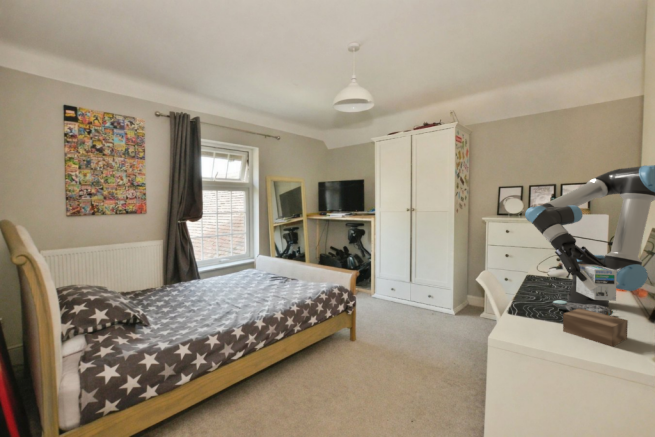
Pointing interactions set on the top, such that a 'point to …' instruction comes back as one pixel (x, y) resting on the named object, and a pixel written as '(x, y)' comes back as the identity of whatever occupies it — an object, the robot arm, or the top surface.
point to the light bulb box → (598, 282)
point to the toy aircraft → (582, 307)
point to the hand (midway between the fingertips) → (604, 287)
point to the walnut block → (595, 326)
